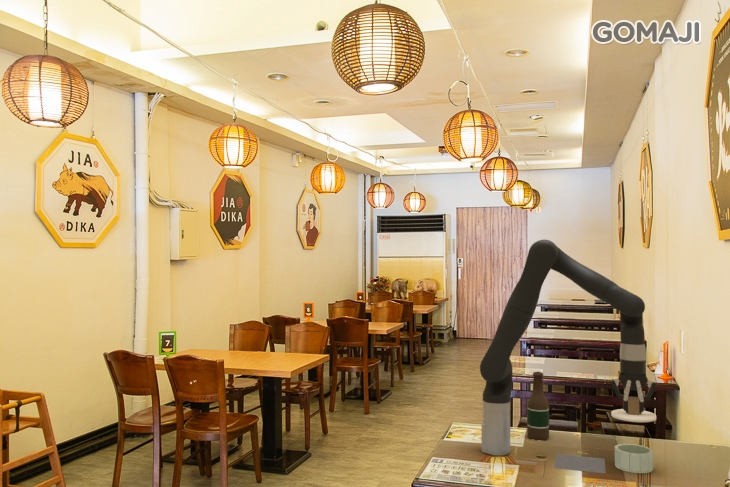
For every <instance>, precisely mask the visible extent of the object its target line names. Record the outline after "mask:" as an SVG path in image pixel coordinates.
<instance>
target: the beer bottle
mask: <svg viewBox="0 0 730 487" xmlns="http://www.w3.org/2000/svg"><path fill="white" fill-rule="evenodd" d="M532 376H533V379H532V380H533V382H532V392H531V395H530V397H529V398H528V400H527V406H526V408H527V409H526V419H527V421H526V422H527V423H526V425H527V426H526V429H527V430H526V431H527V432H526V433H527V434H526V435H527V438H528V437H529V438H528V439H530V440H531V439H534V440H533V441H538V440H544V441H547V440H549V438H550V404H549V401H548V400H549V399H548V398H547V397H546V396H545V393H544V392H545V391H544V379H543V377H544V373H543V372H541V371H533V373H532Z"/></svg>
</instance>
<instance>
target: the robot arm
mask: <svg viewBox="0 0 730 487" xmlns="http://www.w3.org/2000/svg"><path fill="white" fill-rule="evenodd" d="M551 270H553V271H555V272H557V273H559V274H561V275H563V276H565V278H568V279H569V280H570V281H572V282H573V283H574V284H575V285H577V286H578V287H580V288H581V289H582V290H584V291H585V292H586V293H589V294H590V295H592V296H593V297H595V298H597V299H598V300H600V301H602V302H604V303H606V304H608V305H610V306H611V307H612V308H614V309H615V310H617V311H618V312H619V317H620V318H619V319H620V334H619V335H620V344H619V345H620V347H619V375H618V377H617V378H612V379H610V384H611V385H612V388H613V390H614V392H615V395H616V398H617V399H620V400H622V409H624V411H626V413H628V396H629V394H630V391H635V392H637V395H638V396H637V397H639V414H641V412H643V411H645V406H644V405H645V404H644V403H645V401H646V402H647V401H650V400H651V398H652V396H653V394H654V391H655V389H656V388H657V383H656V382H655V381H652V380H649V378H648V377H647V365H646V364H647V356H646V355H647V353H646V345H645V344H646V343H645V335H646V334H645V328H644V324H643V322H644V320H643V318H644V316H643V314H644V313H645V309H646V305H645V301H644V300H643V298H641V297H640V296H638V295H636V294H634V293H633V292H631V291H628V290H627V289H624V288H623V287H621V286H619V284H617V283H616V282H614V281H612V280H611V279H609V278H607V277H606V276H604V275H603V274H600V273H599V272H597V271H595V270H594V269H592V268H590V267H587V266H586V265H584V264H582V263H580V262H579V261H577V260H576V259H574V258H572V257H571V256H570V255H568V254H567V253H565V252H564V251H563V250H562V249H561V248H560V247H558V246H557V245H556V244H555V242H553V241H552V240H550V239H540V240H537V241H534V243H533V244H531V246H530V247H529V250H528V254H527V257H526V260H525V264H524V266H523V269H522V272H521V276H520V278H519V279H518V281H517V283H516V285H515V287H514V288H513V291H512V292H511V294H510V297H509V299H508V301H507V302H506V305H505V307H504V310H503V312H502V315H501V317H500V321H499V323H498V325H497V328H496V331H495V334H494V336H493V339H492V341H491V343H490V345H489V347H488V349H487V350H486V353H485V355H484V356H483V358H482V360H481V362H480V364H479V372H480V375H481V377H482V379H483V380H484V381H485V387H484V390H483V391H482V423H481V453H484V454H488V455H491V456H506V455H507V456H508V455H510V453H511V396H512V391H513V364H512V361H511V359H510V358H511V355H512V352H513V350H514V348H515V347H516V345H517V344H518V342H519V341H520V339H521V338H522V336H523V335H524V333H526V331H527V330H528V328H529V325H530V323H531V321H532V318H533V316H534V313H535V311H536V308H537V306H538V302H539V300H540V295H541V292H542V291H541V290H542V287H543V284H544V282H545V280H546V278H547V276H548V274H549V273H550V271H551ZM619 382H620V383H621V385H622V386H623V387H624V390H623V394H621V391H620V389H619V388H618V387H619V386H620V385H619V384H620V383H619ZM646 384H647V387H648V390H647V392H646V395H644V394H643V391H642V389H643V388H644V387H645V386H646Z"/></svg>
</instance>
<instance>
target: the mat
mask: <svg viewBox="0 0 730 487" xmlns="http://www.w3.org/2000/svg"><path fill="white" fill-rule="evenodd" d="M605 461H606V460H605V458H601V457H593V456H589V457H588V456H584V455H583V456H582V455H571V454H563V453H562V454H561V453H556V457H555V461H554V469H560V470H562V469H563V470H567V471H579V472H588V473H594V474H595V473H598V474H606V462H605Z"/></svg>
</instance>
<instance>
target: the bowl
mask: <svg viewBox="0 0 730 487" xmlns="http://www.w3.org/2000/svg"><path fill="white" fill-rule="evenodd" d="M614 466H615V468H617V469H618V470H621V471H623V472H627V473H633V474H647V473H648V474H649V473H651V472H653V471H654V450H653V448H650V447H647V446H644V445H641V444H633V443H620V444H617V445H616V444H615V445H614Z"/></svg>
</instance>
